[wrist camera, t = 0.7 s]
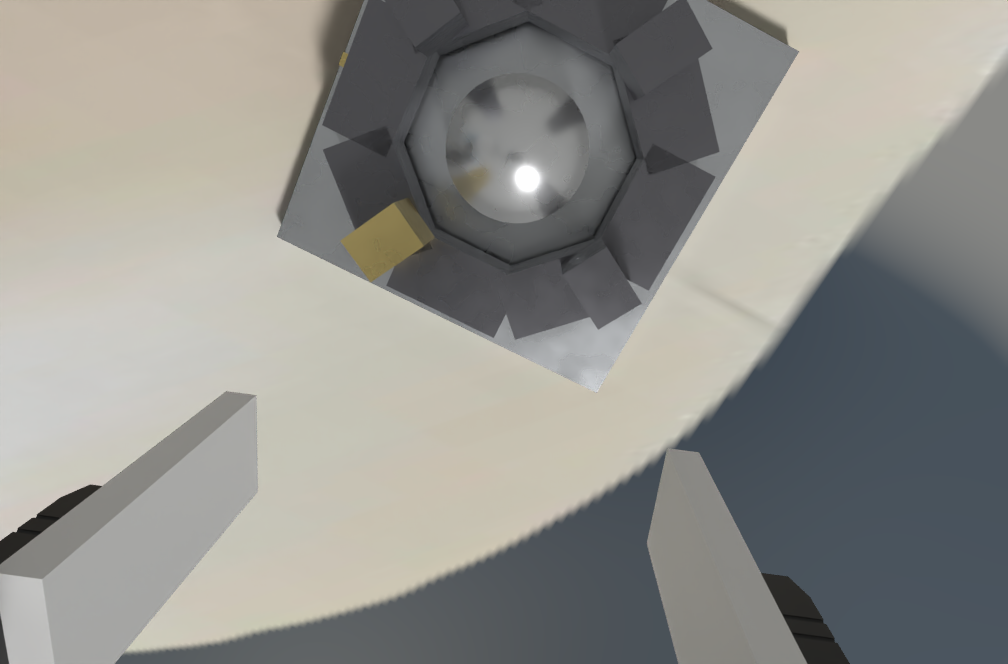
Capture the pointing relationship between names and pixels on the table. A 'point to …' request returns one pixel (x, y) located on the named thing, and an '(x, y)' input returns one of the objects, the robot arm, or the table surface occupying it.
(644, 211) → the octagonal block ring
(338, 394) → the table surface
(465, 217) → the base plate
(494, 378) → the table surface
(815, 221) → the table surface
